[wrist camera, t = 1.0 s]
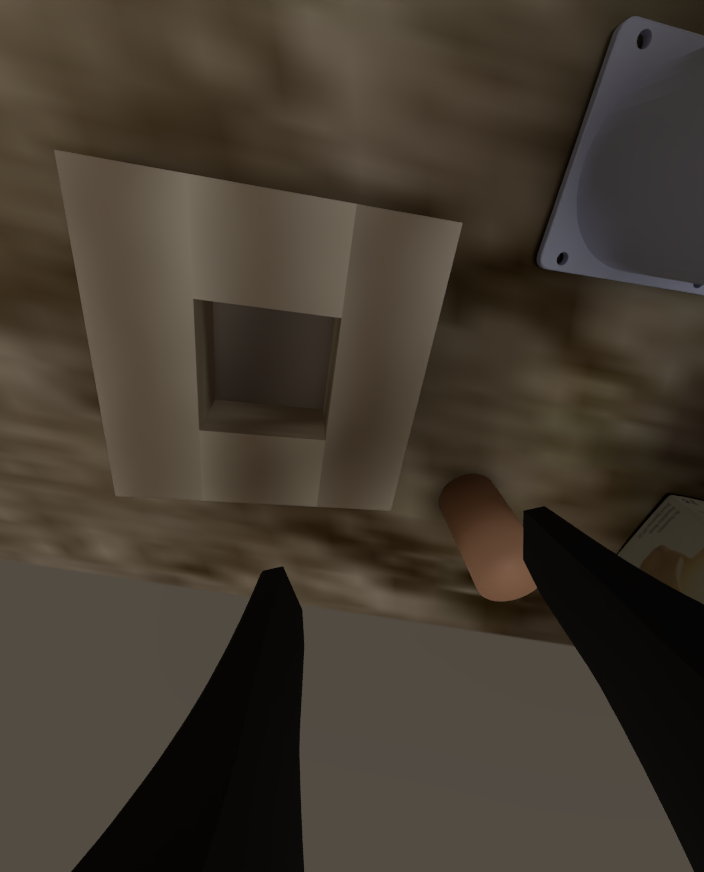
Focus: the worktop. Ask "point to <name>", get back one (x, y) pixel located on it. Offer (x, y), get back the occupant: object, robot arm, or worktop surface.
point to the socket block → (252, 334)
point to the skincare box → (672, 546)
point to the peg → (487, 537)
